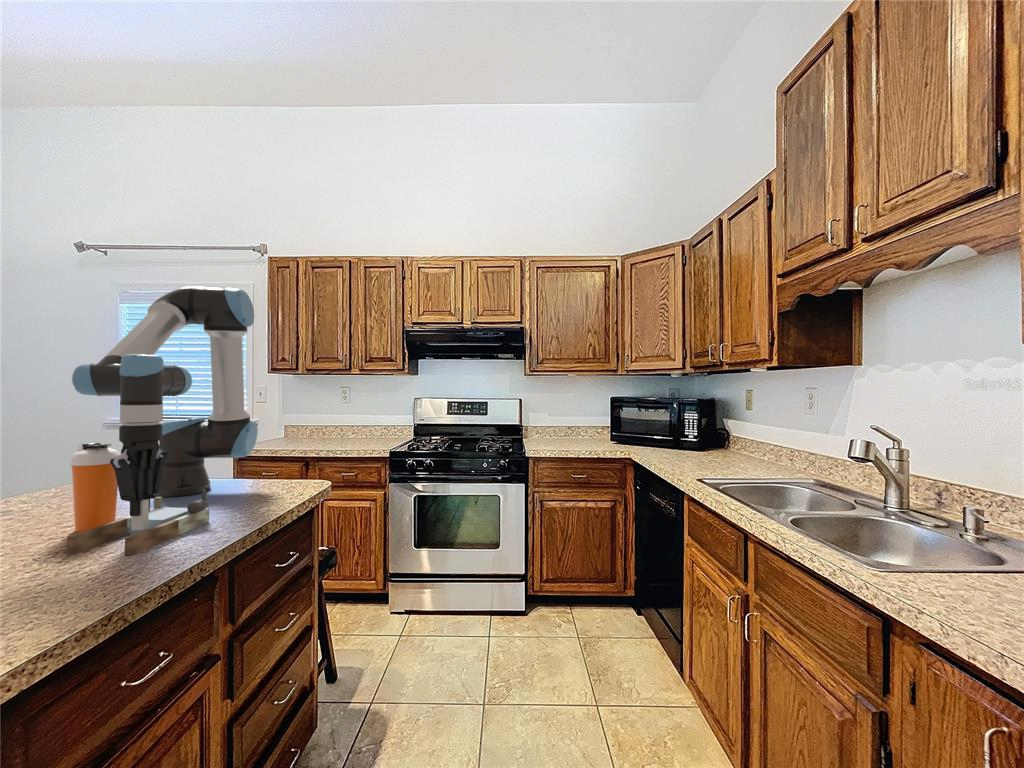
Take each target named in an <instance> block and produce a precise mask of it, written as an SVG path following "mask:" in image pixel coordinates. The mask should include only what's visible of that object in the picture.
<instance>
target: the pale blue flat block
mask: <svg viewBox="0 0 1024 768" xmlns="http://www.w3.org/2000/svg"><path fill="white" fill-rule="evenodd" d="M187 514H190V512H189V511H188V509H187V507H170V506H162V508H160V509H157V510H154V511H151V512H149V522H148V529H151V528H153V527H156V526H158V525H161V524H164V523H166V522H169V521H172V520H174V519H177V518H179V517H182V516H185V515H187ZM129 522H130V533H129V536H132V535H135V534H137V533H140V532H143V531H145V530H148V529H145V530H131V519H129Z"/></svg>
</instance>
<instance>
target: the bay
mask: <svg viewBox="0 0 1024 768" xmlns="http://www.w3.org/2000/svg"><path fill="white" fill-rule="evenodd" d="M210 490H211V486H210V487H208V486H206V487H204V488H203V490H202V492H201V493H202V494H201V499H198V500H195V501H193V502H190V503H188V505H187V507H186V508H187V509H188V511H189V512H190V514H187V515H185V516H182V517H179V518H177V519H174V520H172V521H169V522H166V523H164V524H161V525H158V526H156V527H153V528H151V529H148V530H145V531H143V532H140V533H137V534H135V535H129V536H128V537H125V538H124V556H126V557H129V556H130V557H131V556H133V555H135V554H137V553H140V552H142V551H144V550H147V549H150V548H152V547H154V546H156V545H158V544H159V545H160V544H161V543H163V542H166V541H168V540H170V539H172V538H176V537H177V536H180V535H182V534H185V533H186V532H189V531H191V530H194V529H196V528H198V527H201V526H203V525H205V524H208V523H210V507H209V501H208V500H207V492H209V491H210ZM160 508H163V497H159V496H155V498H153V508H150V511H149V512H151V511H154V510H157V509H160ZM129 519H131V516H130V515H128V516H126V517H122V518H119V519H117V520H116V519H115V521H113V522H110V523H107V524H104V525H101V526H98V527H95V528H92V529H89V530H86V531H83V532H77V533H74V534H70V535H67V537H66V554H67V555H73V554H76V553H79V552H82V551H84V550H87V549H90V548H93V547H95V546H98V545H101V544H103V543H106V542H108V541H111V540H114V539H117V538H119V537H121V536H125V535H127V534H130V522H129Z"/></svg>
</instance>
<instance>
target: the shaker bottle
mask: <svg viewBox="0 0 1024 768" xmlns="http://www.w3.org/2000/svg"><path fill="white" fill-rule="evenodd" d="M112 445H113V444H111V443H103V444H102V443H101V442H91V443H83V444H79V445H78V446H77V451H76V452H74V453H73V454H72V455H71V456H70V466H71V473H72V474H71V476H72V494H73V512H74V513H73V514H74V530H75V532H77V533H79V532H83V531H86V530H89V529H92V528H95V527H98V526H101V525H104V524H107V523H110V522H113V521H116V513H117V501H118V499H117V498H118V484H117V480H116V475H115V470H114V468H113V467H112V465H111V464H110V460H111V459H117V458H118V457H119V456H120V455H121V452H119V451H118V450H117V449H115V448H110V447H111V446H112Z"/></svg>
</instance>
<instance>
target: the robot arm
mask: <svg viewBox="0 0 1024 768" xmlns="http://www.w3.org/2000/svg"><path fill="white" fill-rule="evenodd" d="M254 309H255V308H254V306H253V303H252V300H251V298H250V295H248V293H247V292H246V291H245V290H243V289H240V288H232V287H209V286H184V287H180V288H177V289H174V290H172V291H170V292H167V293H166V294H164V295H162V296H161V297H159V298H157V300H155V301H154V302H153V303H152V304H151V305H150V306H149V307H148V309H147V314H146V316H144V317H143V318H142V319H141V320H140V321H139V322H138V323H137V324H136V325H135V326H134V327H133V328H132V329H131V330H130V331H129V332H128V333H127V334H126V335H125V336H124V337H123V338H122V339H121V340H120V341H119V342H118V343H117V344H116V345H115V346H114V347H113V348H112V349H111V350H110V351H109V352H107V354H106V355H105V356H104V357H102V358H101V360H100V361H99V362H98V363H93V362H92V363H88V364H87V363H84V364H83V363H82V364H80V365H78V366H77V367H76V368H74V371H73V373H72V375H71V380H72V381H71V383H72V385H73V387H74V390H75V391H76V392H78V393H79V394H81V395H84V396H96V397H97V396H98V397H107V396H108V397H110V396H111V397H113V396H114V397H115V396H116V397H117V396H119V398H120V399H119V423H121V424H122V425H120V426H119V429H118V433H119V434H118V441H119V442H120V443H122V448H121V450H120V454H121V455H120V456H119V457H118V458H117V459H111V460H110V464H111V465H112V467H113V468H114V470H115V475H116V480H117V484H118V488H117V490H118V493H119V497H120V498H119V499H120V501H124V502H128V503H129V516H131V530H145V529H148V522H149V511H150V509H151V499H153V500H154V498H156V497H162V498H164V497H165V498H168V497H170V498H171V497H182V496H189V495H190V496H191V495H195V494H201V493H202V490H203V488H204V487H206V486H208V487H210V488H211V480H210V478H209V475H208V472H207V470H206V467H205V459H216V458H217V459H222V458H223V459H226V458H229V459H236V458H246V457H248V456H249V455H251V453H252V452H253V450H254V448H255V445H256V443H257V438H258V433H259V431H258V430H259V428H258V425H257V423H256V421H253V420H251V415H250V413H248V412H247V411H246V410H245V390H244V388H245V386H244V367H243V366H244V362H243V360H244V358H243V356H244V355H243V336H245V335H246V334H247V333H248V327H251V326H253V324H254V319H255V311H254ZM188 325H189V326H191V325H199V326H200V325H202V326H203V331H204V332H205V333H206V334H207V335H208V336H209V341H210V342H209V343H210V345H209V347H210V365H211V370H210V371H211V390H212V392H211V393H212V413H211V414H210V415H208V417H207V421H206V419H205V417H203V416H202V417H191V418H185V419H184V418H183V419H175V420H169V421H164V422H163V420H164V405H163V403H164V402H163V401H164V398H163V397H178V396H180V395H184V394H185V393H187V392H188V391H189V390H190V389H191V387H192V384H193V378H192V375H191V373H190V372H189V371H188V370H187V369H185V368H184V367H181V366H177V365H165V364H164V359H163V357H162V356H160V355H155V354H156V353H157V352H158V351H159V350H160V349H161V348H162V346H163V345H164V344H165V343H166V341H168V339H169V338H170V337H171V336H172V335H173V334H174V332H178V331H181V330H182V329H183V328H184V327H185V326H188ZM161 422H163V423H161Z"/></svg>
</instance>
